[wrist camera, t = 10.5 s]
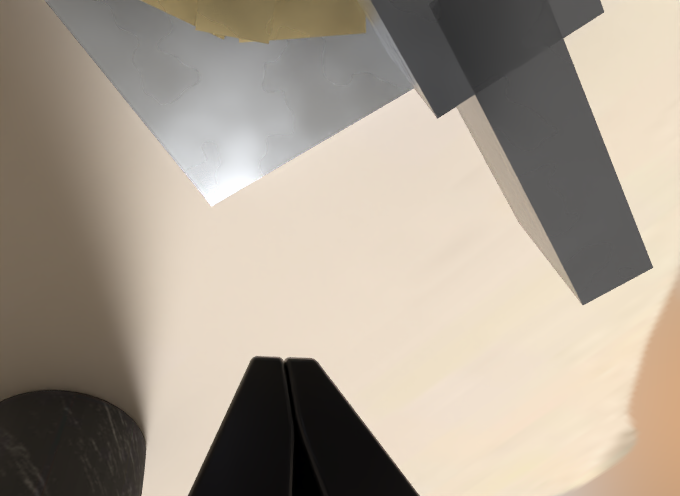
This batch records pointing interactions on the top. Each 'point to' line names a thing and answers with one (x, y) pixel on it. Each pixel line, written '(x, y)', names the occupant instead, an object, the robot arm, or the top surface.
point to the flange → (231, 88)
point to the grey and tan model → (487, 107)
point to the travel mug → (68, 447)
